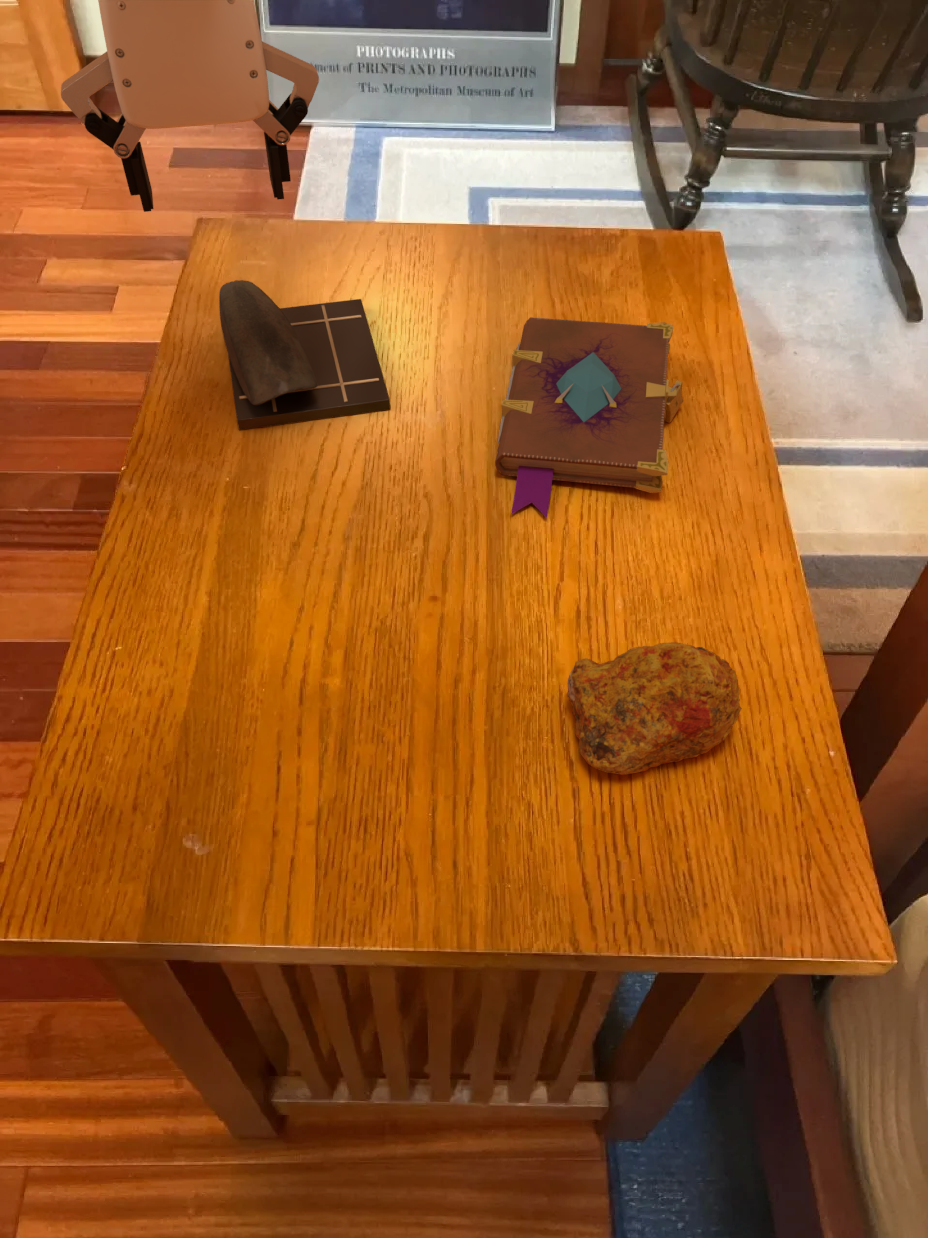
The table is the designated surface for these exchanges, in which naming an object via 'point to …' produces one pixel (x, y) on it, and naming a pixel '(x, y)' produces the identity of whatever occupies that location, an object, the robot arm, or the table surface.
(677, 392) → the book
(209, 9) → the robot arm
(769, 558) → the table surface
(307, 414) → the board
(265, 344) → the decorative stone
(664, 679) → the rock
